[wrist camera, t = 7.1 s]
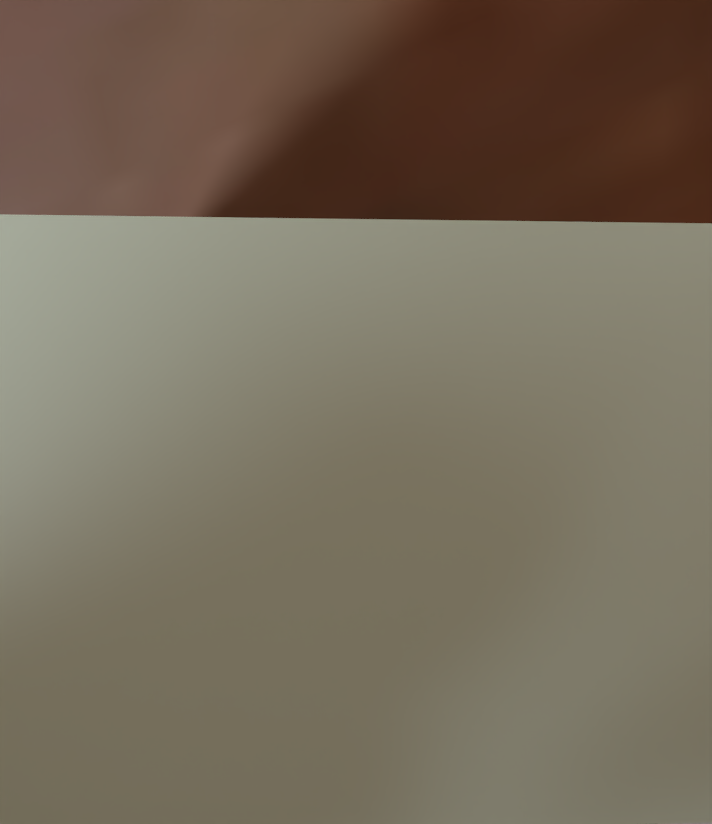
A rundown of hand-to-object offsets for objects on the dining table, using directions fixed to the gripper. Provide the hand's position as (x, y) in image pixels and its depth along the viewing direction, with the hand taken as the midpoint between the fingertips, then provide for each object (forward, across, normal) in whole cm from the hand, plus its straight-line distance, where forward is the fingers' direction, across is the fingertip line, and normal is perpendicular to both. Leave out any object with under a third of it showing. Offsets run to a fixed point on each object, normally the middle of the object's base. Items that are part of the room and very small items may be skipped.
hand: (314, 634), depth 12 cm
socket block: (+6, 0, -6) cm, 8 cm away
